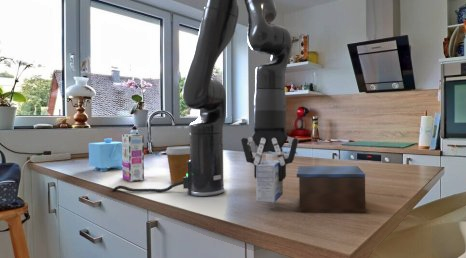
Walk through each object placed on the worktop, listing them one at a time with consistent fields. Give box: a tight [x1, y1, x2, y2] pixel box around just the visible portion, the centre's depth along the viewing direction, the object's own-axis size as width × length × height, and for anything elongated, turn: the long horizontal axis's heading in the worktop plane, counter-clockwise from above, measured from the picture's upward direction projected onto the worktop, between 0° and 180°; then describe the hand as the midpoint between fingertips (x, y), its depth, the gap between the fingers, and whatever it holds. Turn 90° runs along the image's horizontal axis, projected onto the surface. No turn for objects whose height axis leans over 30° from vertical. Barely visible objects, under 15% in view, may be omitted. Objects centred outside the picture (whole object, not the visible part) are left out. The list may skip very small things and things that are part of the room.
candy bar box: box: [121, 134, 145, 183], centre depth 107 cm, size 11×5×16 cm, turn 42°
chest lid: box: [296, 165, 366, 179], centre depth 71 cm, size 15×12×1 cm
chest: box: [298, 177, 366, 214], centre depth 72 cm, size 15×12×8 cm
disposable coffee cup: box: [165, 145, 190, 184], centre depth 102 cm, size 10×10×12 cm
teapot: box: [88, 137, 122, 172], centre depth 131 cm, size 22×11×14 cm, turn 52°
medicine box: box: [255, 160, 284, 204], centre depth 71 cm, size 8×4×9 cm, turn 168°
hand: (270, 180), depth 71 cm, fingers closed on medicine box, 4 cm apart
